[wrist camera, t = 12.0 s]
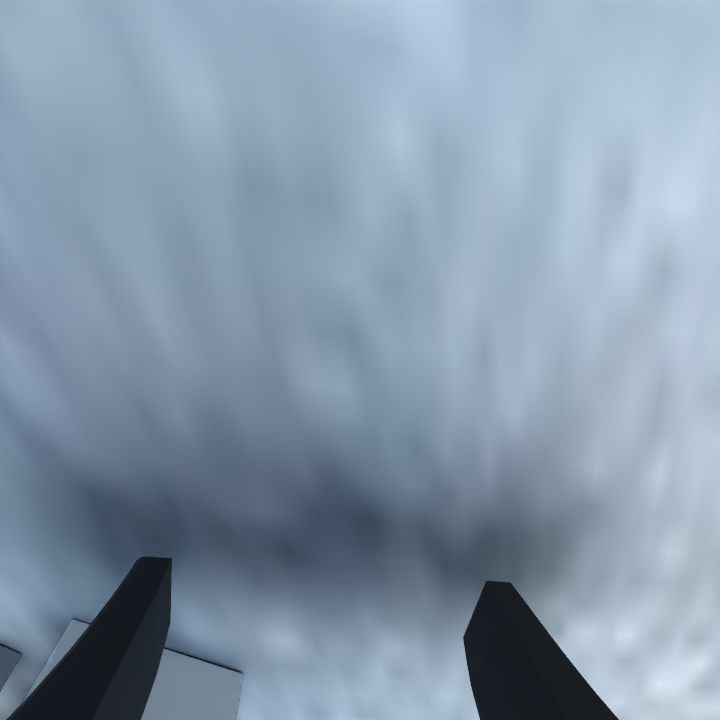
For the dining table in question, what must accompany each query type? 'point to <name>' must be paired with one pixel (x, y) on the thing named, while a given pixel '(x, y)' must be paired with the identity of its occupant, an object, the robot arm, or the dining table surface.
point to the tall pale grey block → (172, 684)
